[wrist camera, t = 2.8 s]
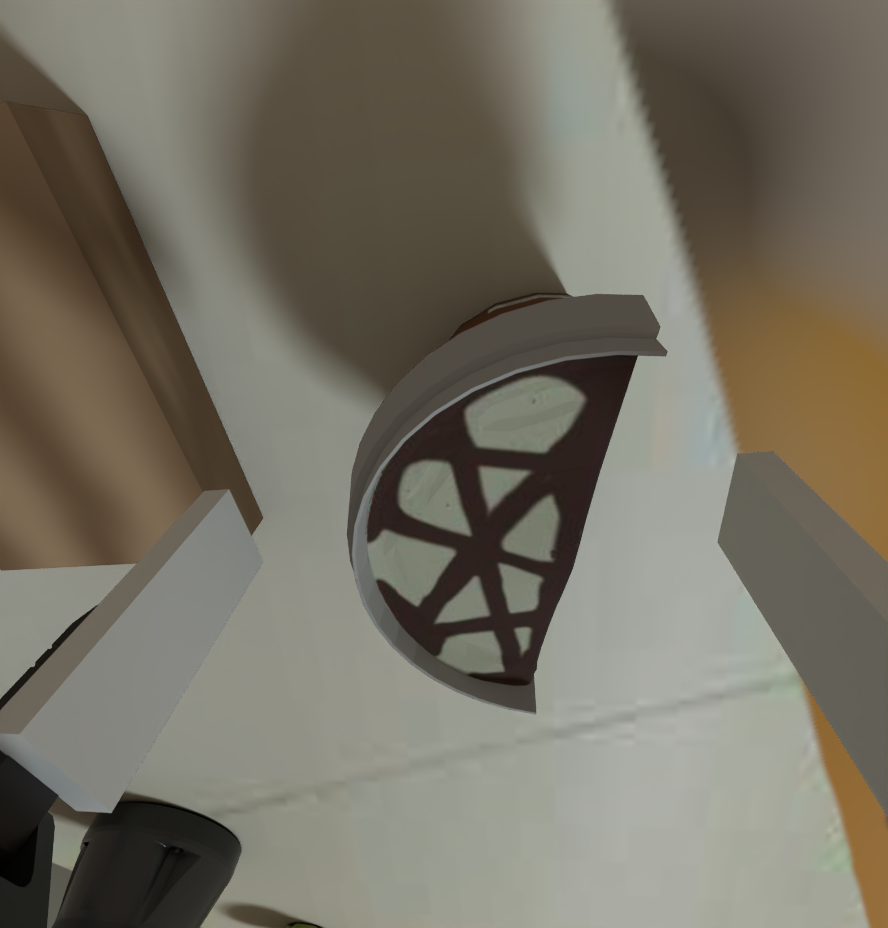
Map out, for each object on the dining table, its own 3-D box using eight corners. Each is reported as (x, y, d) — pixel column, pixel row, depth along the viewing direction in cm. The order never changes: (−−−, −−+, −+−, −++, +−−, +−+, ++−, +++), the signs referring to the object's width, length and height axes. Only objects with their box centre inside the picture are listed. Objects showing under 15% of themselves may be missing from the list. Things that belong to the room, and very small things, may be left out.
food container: (404, 229, 16) (311, 277, 8) (577, 249, 16) (679, 320, 7) (393, 505, 23) (335, 697, 14) (515, 521, 22) (532, 724, 14)
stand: (49, 532, 26) (1, 570, 23) (-215, 181, 17) (-341, 180, 14) (263, 518, 24) (236, 558, 21) (87, 115, 15) (5, 101, 12)
